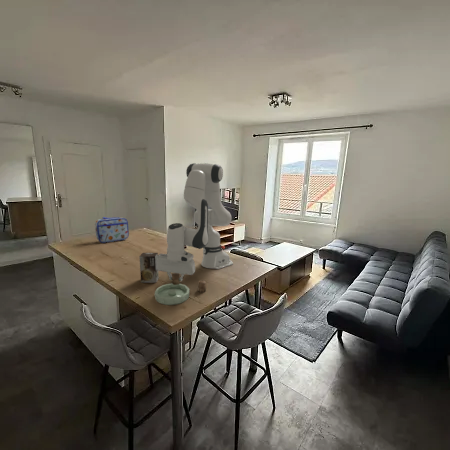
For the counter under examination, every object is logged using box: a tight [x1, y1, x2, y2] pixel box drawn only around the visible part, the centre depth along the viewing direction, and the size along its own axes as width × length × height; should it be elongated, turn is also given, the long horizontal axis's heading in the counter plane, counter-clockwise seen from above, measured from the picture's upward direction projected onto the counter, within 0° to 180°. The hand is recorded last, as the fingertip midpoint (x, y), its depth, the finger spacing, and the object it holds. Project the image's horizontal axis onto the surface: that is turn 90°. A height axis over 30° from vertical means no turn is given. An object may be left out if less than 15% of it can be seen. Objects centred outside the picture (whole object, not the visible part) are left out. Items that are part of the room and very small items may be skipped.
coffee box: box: [139, 252, 160, 284], centre depth 140 cm, size 9×6×16 cm
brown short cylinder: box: [197, 280, 207, 293], centre depth 131 cm, size 4×4×5 cm
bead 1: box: [171, 273, 181, 285], centre depth 127 cm, size 4×4×5 cm
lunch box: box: [94, 216, 130, 244], centre depth 216 cm, size 28×10×22 cm, turn 130°
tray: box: [154, 282, 191, 306], centre depth 124 cm, size 17×17×3 cm
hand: (176, 280), depth 127 cm, fingers closed on bead 1, 4 cm apart
